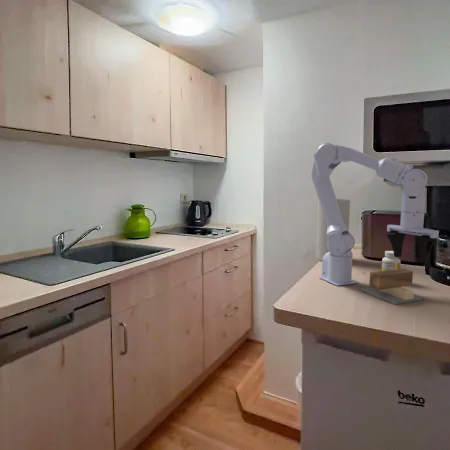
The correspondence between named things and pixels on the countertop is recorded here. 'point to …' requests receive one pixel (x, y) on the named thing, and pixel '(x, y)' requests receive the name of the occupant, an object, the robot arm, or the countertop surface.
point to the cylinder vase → (322, 226)
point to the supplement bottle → (390, 261)
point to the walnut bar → (391, 279)
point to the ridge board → (389, 297)
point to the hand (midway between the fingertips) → (409, 259)
